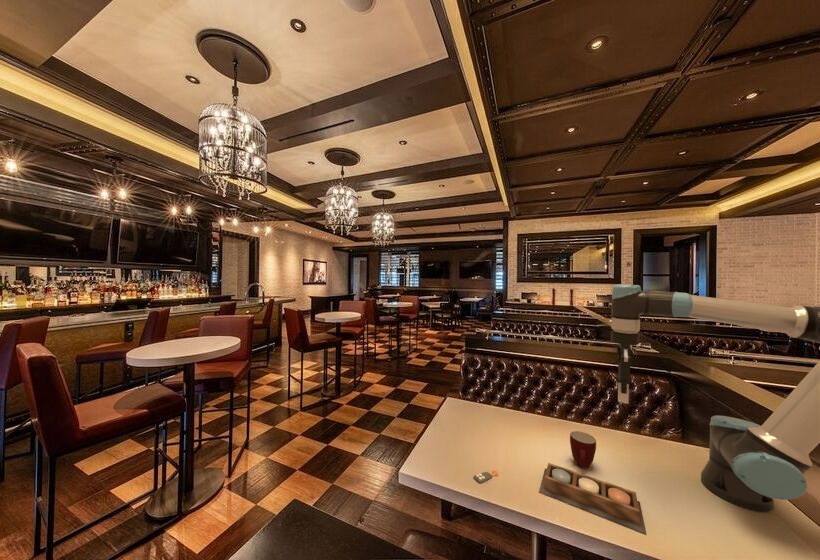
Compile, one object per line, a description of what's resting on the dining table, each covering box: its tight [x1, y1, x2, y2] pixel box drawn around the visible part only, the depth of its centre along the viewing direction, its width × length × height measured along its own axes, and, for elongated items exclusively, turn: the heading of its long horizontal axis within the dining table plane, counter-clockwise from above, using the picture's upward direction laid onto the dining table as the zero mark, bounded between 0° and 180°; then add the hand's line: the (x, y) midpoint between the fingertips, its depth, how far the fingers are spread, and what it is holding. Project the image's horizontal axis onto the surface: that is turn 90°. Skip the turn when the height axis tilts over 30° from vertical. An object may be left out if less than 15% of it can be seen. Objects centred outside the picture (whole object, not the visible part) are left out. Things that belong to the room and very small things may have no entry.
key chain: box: [473, 470, 503, 485], centre depth 96 cm, size 13×4×2 cm, turn 118°
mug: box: [569, 430, 597, 469], centre depth 101 cm, size 11×8×10 cm
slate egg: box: [552, 469, 570, 484], centre depth 91 cm, size 5×5×3 cm
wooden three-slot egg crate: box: [538, 462, 647, 536], centre depth 87 cm, size 26×13×4 cm, turn 57°
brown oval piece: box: [608, 488, 630, 506], centre depth 83 cm, size 5×5×3 cm
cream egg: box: [579, 478, 599, 495], centre depth 87 cm, size 5×5×3 cm
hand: (623, 401), depth 94 cm, fingers closed
